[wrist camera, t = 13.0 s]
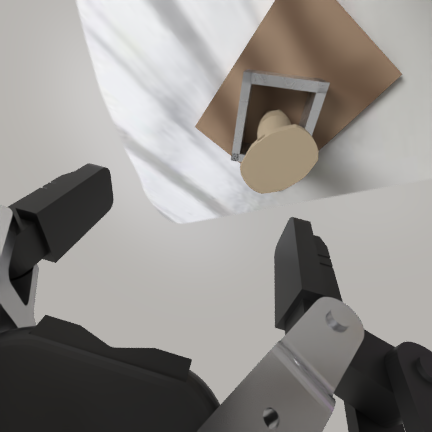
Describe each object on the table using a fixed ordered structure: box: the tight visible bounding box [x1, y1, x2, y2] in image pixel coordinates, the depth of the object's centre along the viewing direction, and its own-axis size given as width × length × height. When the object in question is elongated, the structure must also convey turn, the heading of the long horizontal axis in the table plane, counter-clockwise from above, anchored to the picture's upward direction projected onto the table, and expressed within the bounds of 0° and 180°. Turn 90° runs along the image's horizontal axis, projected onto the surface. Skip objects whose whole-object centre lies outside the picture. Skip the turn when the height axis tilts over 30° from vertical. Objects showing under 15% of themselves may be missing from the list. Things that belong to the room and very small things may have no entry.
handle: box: [240, 109, 318, 194], centre depth 25 cm, size 5×6×15 cm
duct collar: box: [231, 69, 330, 162], centre depth 29 cm, size 10×9×5 cm
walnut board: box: [195, 0, 402, 163], centre depth 30 cm, size 20×16×1 cm
